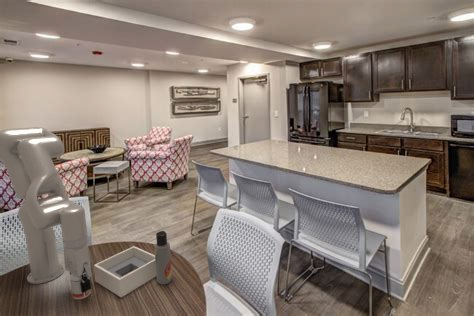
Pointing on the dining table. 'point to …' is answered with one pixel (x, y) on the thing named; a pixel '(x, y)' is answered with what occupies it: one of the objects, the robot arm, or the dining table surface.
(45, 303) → the dining table surface
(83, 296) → the pill bottle
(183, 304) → the dining table surface
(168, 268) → the lotion bottle
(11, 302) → the dining table surface
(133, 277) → the box
